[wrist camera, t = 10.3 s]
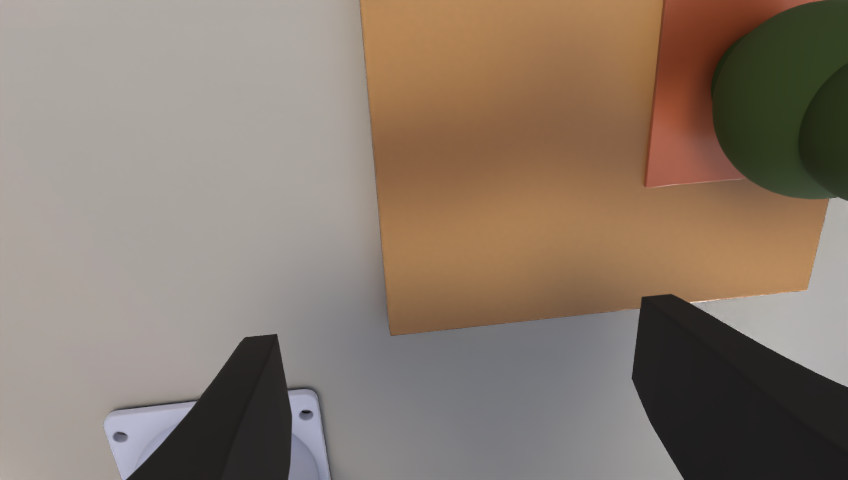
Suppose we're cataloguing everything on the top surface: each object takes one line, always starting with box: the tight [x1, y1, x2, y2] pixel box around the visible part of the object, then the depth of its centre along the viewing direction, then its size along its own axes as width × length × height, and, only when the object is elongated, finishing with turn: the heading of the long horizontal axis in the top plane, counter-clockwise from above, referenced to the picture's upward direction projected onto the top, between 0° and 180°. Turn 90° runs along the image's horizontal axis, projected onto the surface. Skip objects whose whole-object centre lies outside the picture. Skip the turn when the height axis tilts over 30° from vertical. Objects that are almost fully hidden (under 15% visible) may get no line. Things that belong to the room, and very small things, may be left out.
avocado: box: [711, 0, 848, 201], centre depth 18 cm, size 5×5×7 cm
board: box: [359, 0, 829, 336], centre depth 22 cm, size 12×16×1 cm
